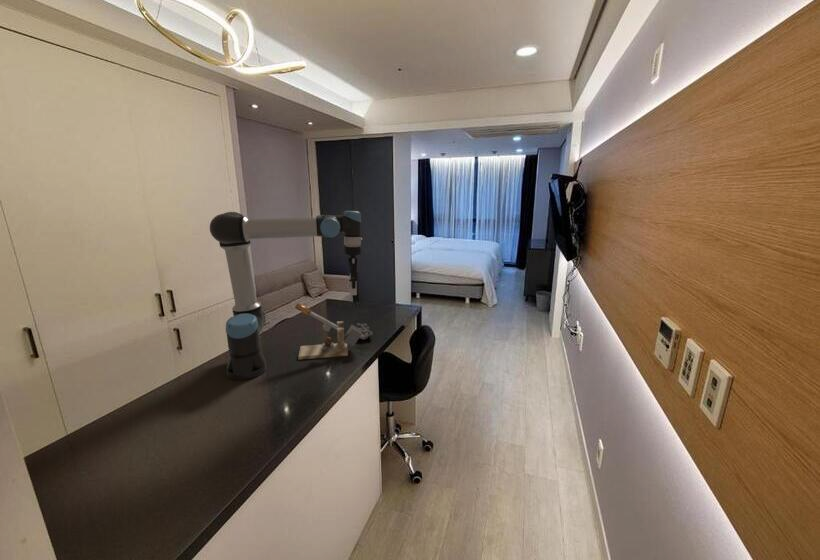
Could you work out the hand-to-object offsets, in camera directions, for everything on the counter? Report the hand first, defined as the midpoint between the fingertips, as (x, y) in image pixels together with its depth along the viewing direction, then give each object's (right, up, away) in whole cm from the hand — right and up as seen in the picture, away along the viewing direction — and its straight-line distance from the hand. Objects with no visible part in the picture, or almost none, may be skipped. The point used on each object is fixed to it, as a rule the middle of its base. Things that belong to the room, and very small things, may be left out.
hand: (353, 290), depth 160 cm
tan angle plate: (-14, -29, +1) cm, 32 cm away
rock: (+2, -25, +19) cm, 32 cm away
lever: (-14, -18, -2) cm, 22 cm away
